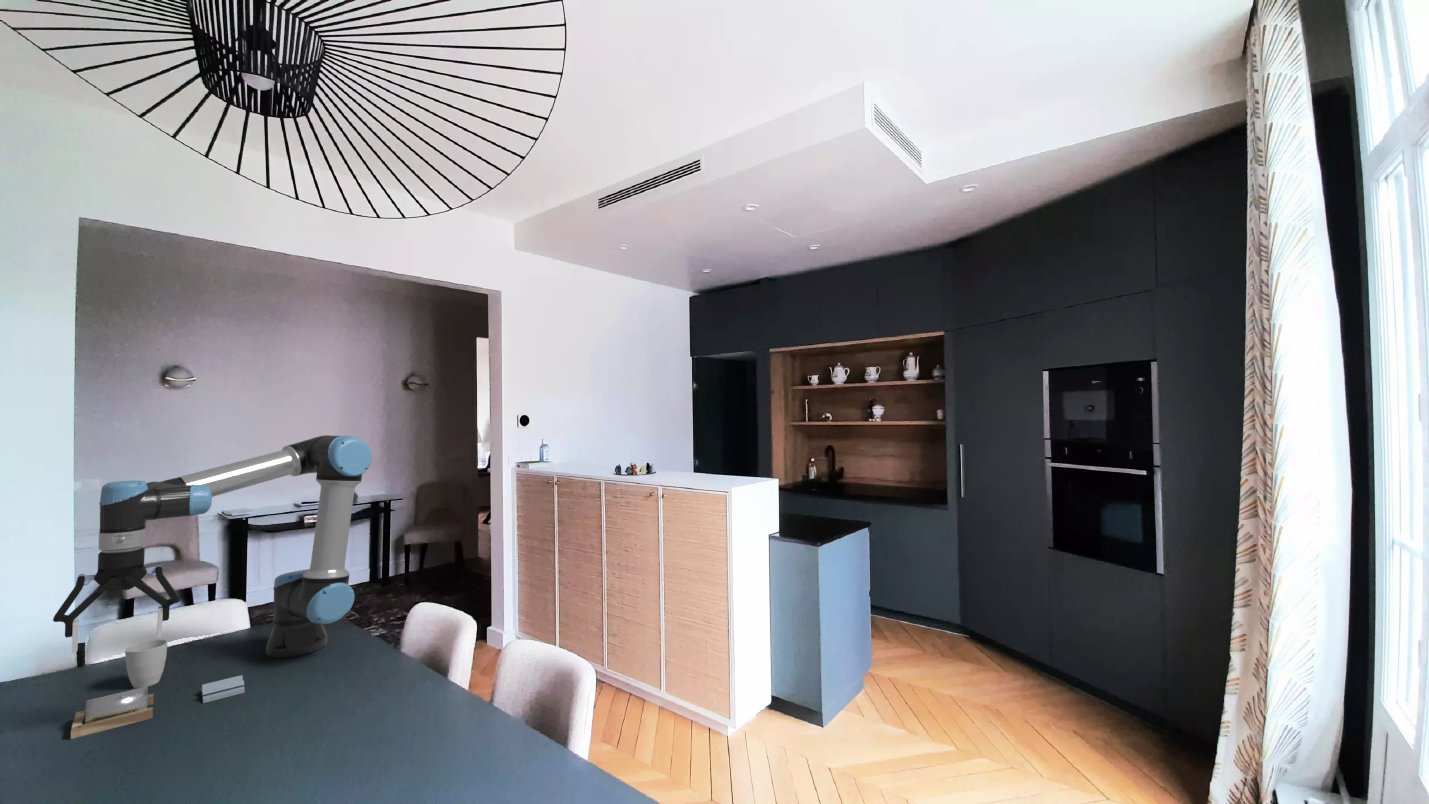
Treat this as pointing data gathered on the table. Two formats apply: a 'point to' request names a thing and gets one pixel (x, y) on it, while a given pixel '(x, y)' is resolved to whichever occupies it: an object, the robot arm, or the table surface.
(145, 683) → the cup
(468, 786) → the table surface
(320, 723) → the table surface
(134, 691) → the grey metal cylinder
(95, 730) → the wooden flat frame
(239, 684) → the v block
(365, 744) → the table surface
